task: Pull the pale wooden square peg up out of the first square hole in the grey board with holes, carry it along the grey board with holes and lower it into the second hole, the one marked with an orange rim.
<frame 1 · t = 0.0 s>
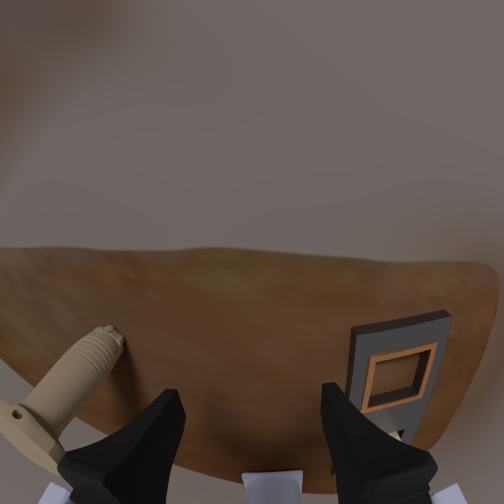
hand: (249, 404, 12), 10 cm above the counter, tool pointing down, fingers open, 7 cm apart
handle: (112, 336, 23), on the counter
grey board with holes: (383, 410, 24), on the counter
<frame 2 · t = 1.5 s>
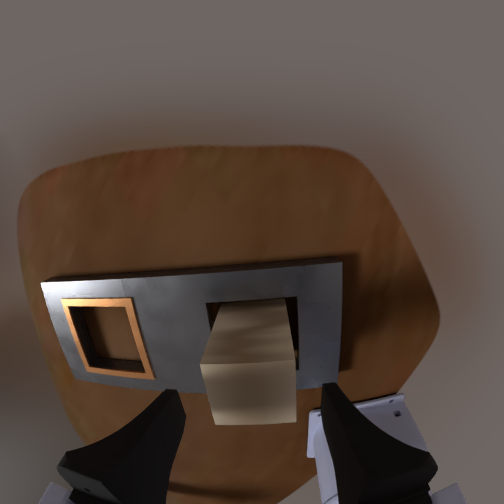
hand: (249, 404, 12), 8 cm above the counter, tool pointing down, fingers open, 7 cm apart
peg: (255, 328, 20), resting in grey board with holes
grey board with holes: (177, 332, 20), on the counter
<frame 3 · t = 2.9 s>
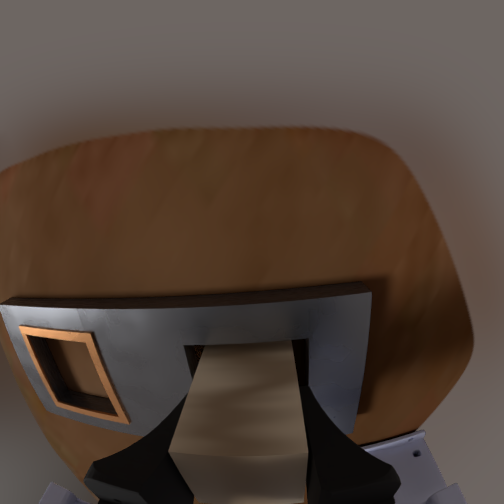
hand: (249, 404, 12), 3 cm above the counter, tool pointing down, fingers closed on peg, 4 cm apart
peg: (252, 372, 15), resting in grey board with holes, touching gripper
grey board with holes: (153, 372, 15), on the counter
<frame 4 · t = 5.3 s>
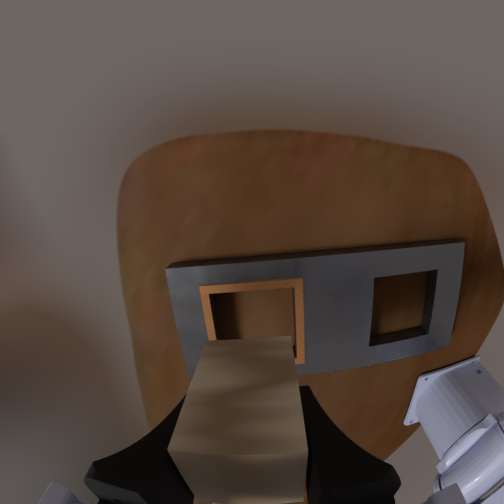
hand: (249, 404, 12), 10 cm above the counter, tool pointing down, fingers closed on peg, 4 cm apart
peg: (251, 371, 15), point 7 cm above the counter, touching gripper
grey board with holes: (330, 311, 21), on the counter
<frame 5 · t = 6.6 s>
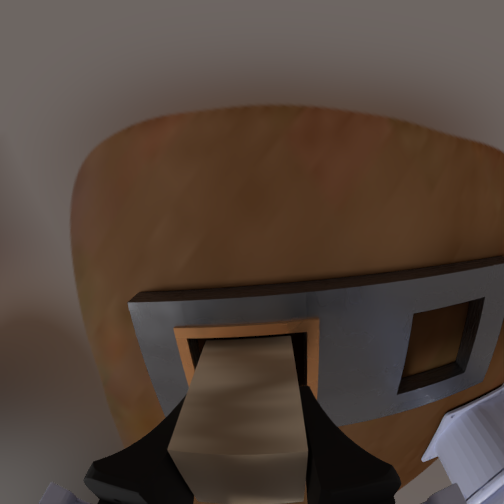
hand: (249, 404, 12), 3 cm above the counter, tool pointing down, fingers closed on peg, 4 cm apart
peg: (251, 371, 15), point 1 cm above the counter, touching gripper
grey board with holes: (352, 354, 15), on the counter
when the fingers open (3 cm above the counter, at t = 7.6 s): peg stays where it is, resting in grey board with holes.
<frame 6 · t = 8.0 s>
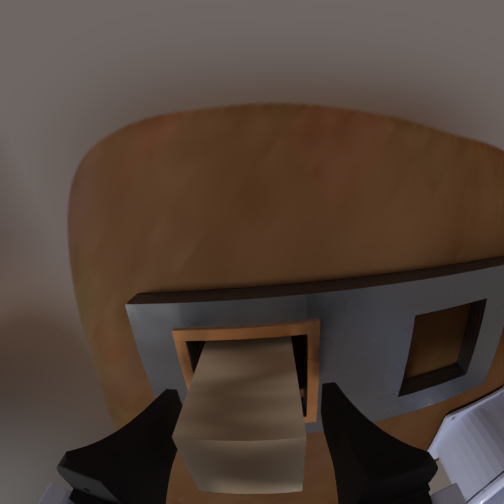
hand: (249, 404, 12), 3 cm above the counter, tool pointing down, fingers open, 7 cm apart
peg: (252, 365, 15), resting in grey board with holes
grey board with holes: (353, 356, 15), on the counter
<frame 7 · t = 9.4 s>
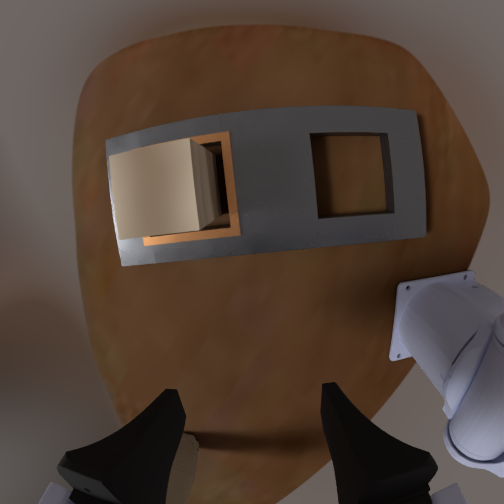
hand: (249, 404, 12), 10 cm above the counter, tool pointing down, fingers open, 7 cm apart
peg: (189, 188, 20), resting in grey board with holes
handle: (186, 437, 27), on the counter
grey board with holes: (269, 179, 20), on the counter
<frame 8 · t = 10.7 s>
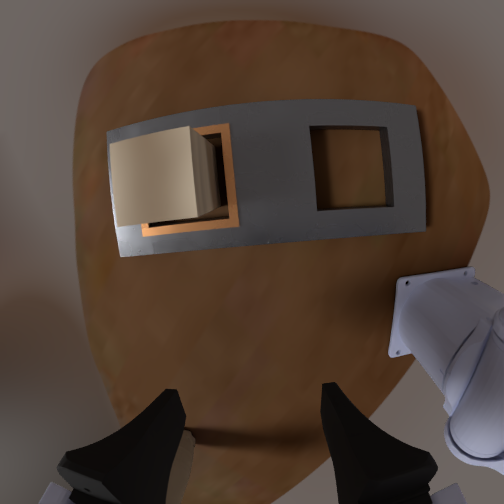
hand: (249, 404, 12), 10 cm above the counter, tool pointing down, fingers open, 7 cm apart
peg: (188, 180, 20), resting in grey board with holes
handle: (183, 433, 27), on the counter
grey board with holes: (269, 171, 20), on the counter
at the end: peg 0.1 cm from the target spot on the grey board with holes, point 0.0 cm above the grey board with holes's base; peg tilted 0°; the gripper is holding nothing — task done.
